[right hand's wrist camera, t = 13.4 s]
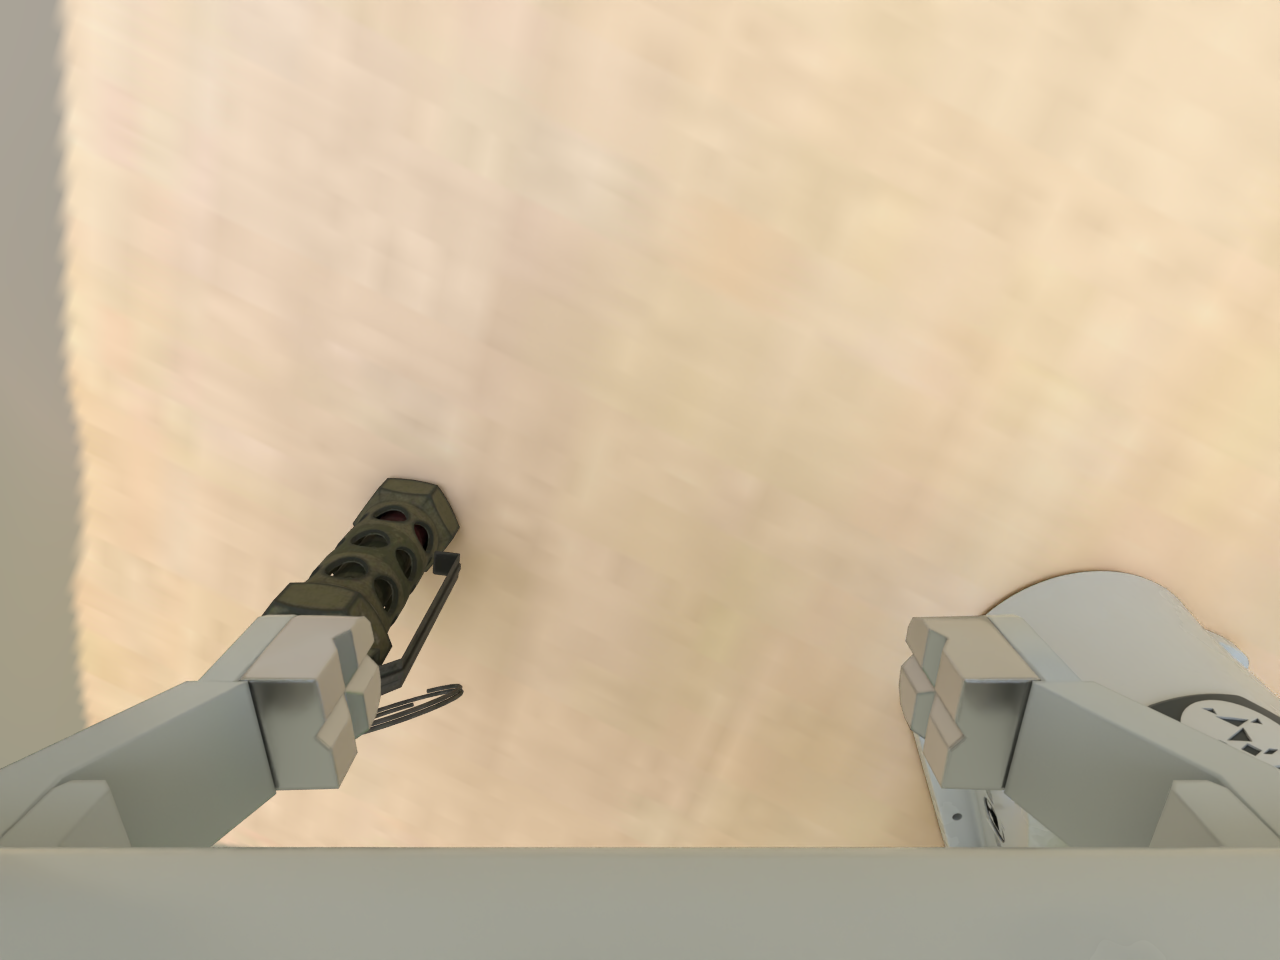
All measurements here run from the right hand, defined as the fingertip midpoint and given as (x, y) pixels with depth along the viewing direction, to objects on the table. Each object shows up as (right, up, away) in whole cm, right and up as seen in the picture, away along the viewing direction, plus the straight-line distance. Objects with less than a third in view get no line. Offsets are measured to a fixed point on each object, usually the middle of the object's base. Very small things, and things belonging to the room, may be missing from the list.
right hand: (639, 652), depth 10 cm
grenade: (-11, 0, +26) cm, 28 cm away
